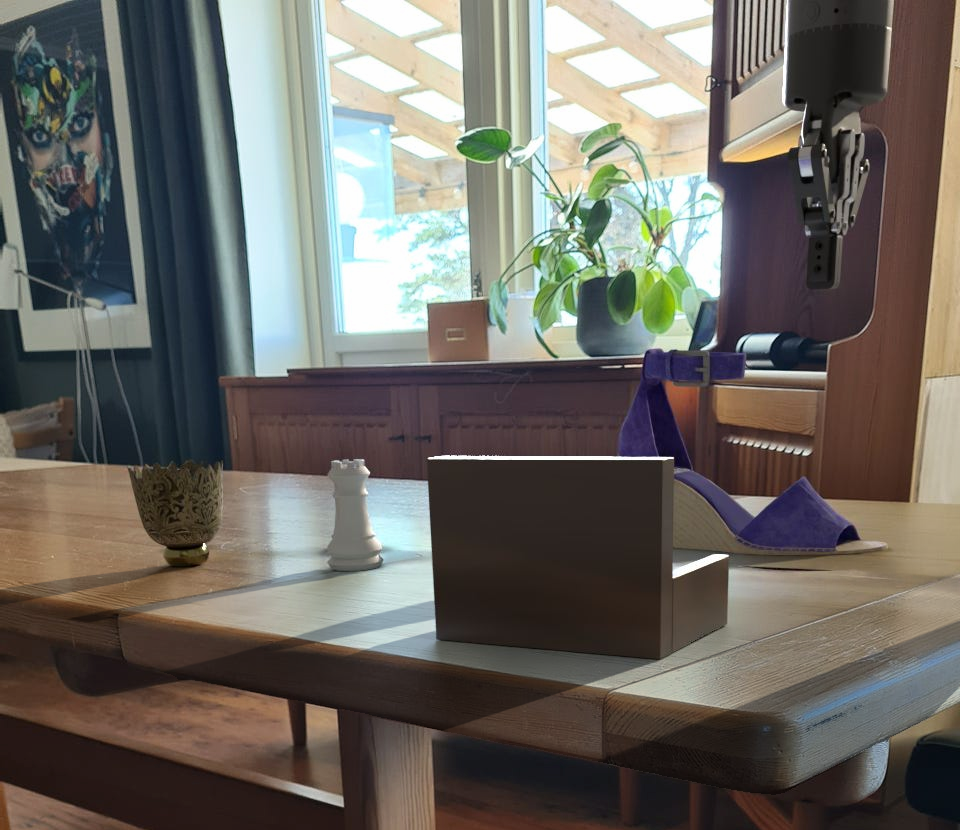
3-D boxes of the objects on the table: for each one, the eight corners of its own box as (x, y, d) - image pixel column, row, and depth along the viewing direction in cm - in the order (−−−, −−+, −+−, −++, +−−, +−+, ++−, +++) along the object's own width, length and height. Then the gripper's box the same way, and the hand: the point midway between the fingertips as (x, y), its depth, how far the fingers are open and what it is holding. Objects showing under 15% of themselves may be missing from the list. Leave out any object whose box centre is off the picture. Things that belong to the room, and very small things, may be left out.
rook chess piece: (353, 573, 97) (345, 464, 94) (315, 569, 100) (306, 462, 97) (396, 565, 100) (389, 458, 97) (357, 561, 103) (350, 457, 100)
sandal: (862, 577, 87) (878, 338, 81) (603, 563, 97) (601, 351, 92) (898, 559, 93) (915, 336, 87) (651, 547, 103) (652, 348, 98)
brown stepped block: (518, 609, 81) (513, 444, 78) (727, 624, 74) (732, 444, 71) (436, 639, 74) (426, 458, 70) (660, 659, 67) (662, 459, 63)
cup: (251, 561, 106) (240, 460, 103) (176, 574, 101) (163, 468, 98) (197, 555, 110) (185, 458, 107) (123, 567, 105) (109, 466, 102)
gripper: (864, 5, 86) (845, 285, 93) (913, 38, 97) (893, 288, 103) (757, 22, 90) (746, 290, 97) (815, 52, 101) (802, 293, 107)
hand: (822, 289), depth 100 cm, fingers closed
